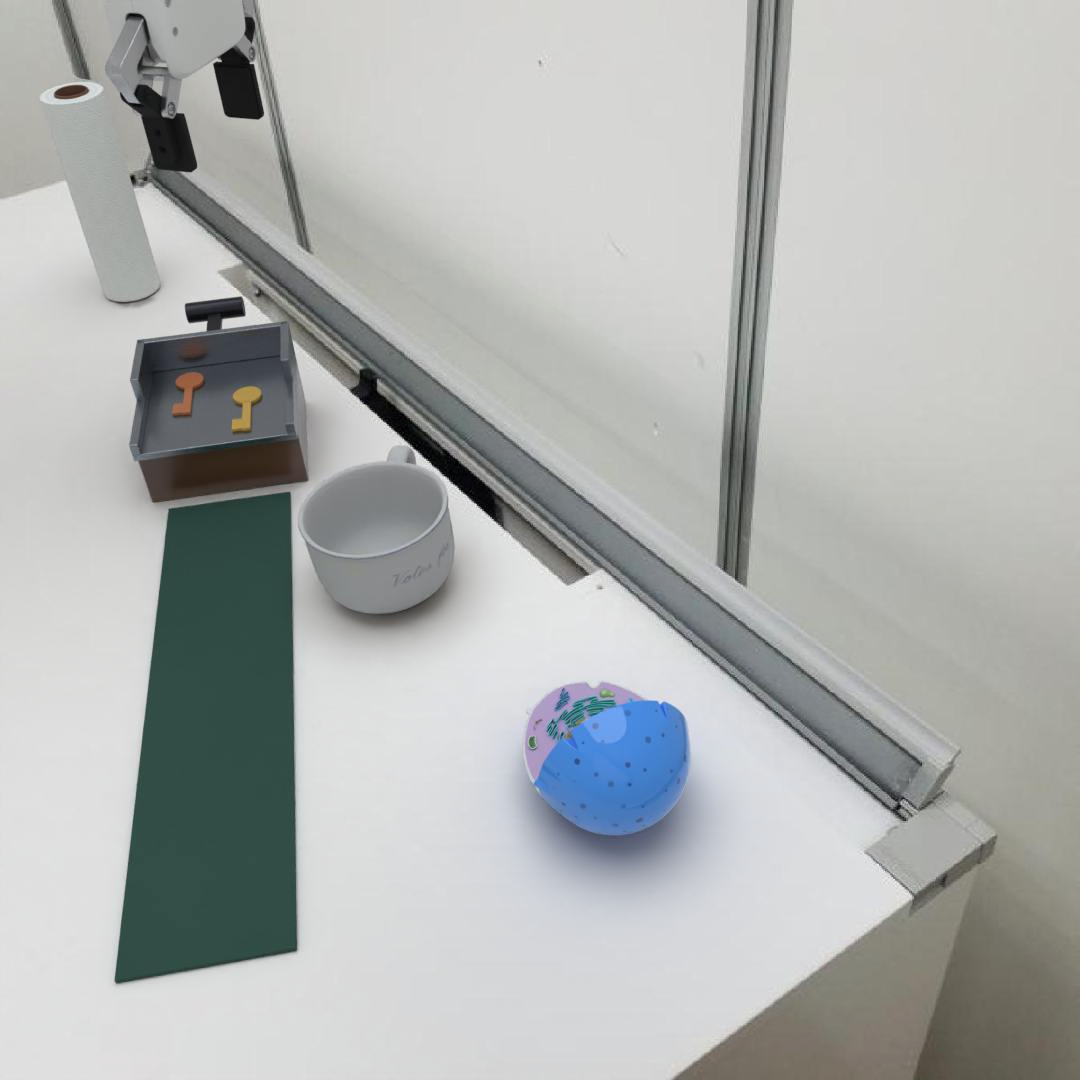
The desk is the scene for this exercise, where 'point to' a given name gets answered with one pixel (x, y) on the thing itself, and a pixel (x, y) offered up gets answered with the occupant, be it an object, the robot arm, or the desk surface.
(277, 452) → the stand
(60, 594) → the desk surface
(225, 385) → the grey letter tray
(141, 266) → the paper towel roll
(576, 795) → the cell model
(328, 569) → the teacup
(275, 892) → the mat
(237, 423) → the brass key
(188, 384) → the copper key
